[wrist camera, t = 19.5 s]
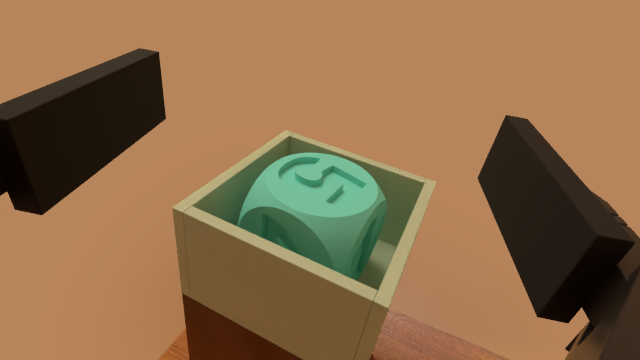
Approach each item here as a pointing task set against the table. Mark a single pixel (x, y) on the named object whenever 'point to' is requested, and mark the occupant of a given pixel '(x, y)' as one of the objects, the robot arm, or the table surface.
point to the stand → (225, 337)
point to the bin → (295, 260)
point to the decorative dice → (317, 210)
